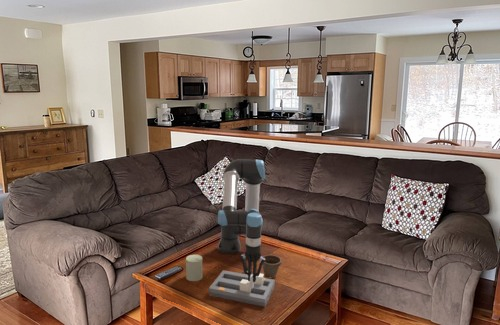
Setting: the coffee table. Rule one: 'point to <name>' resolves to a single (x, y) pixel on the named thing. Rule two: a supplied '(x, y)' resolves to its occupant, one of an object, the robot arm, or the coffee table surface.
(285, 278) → the coffee table surface
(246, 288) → the tab
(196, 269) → the can
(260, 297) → the switch bank
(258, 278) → the tab
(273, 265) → the flower pot
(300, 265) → the coffee table surface
